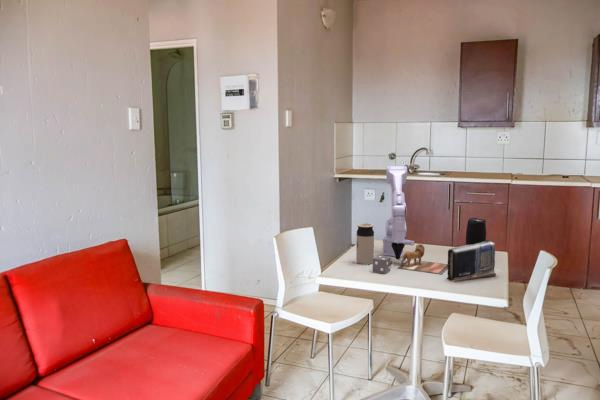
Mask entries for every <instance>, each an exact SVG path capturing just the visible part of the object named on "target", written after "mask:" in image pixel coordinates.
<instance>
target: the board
mask: <svg viewBox="0 0 600 400" xmlns="http://www.w3.org/2000/svg"><path fill="white" fill-rule="evenodd" d="M421 264H422V265H419V259H418V260H417V259H416V264H414V259H411V261H410V265H412V267H410V266H409V265H408V260H405V261H404V262H403V265H404V266H403V267H402V266H401V264H400V265H399V266H398V267H397V269H399V270H407V271H413V272H421V273H429V274H435V275H443V274H444V273H445V272H446V271H448V263H441V262H440V263H439V262H432V261H426V260H421Z"/></svg>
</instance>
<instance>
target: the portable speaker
mask: <svg viewBox="0 0 600 400" xmlns="http://www.w3.org/2000/svg"><path fill="white" fill-rule="evenodd" d="M486 222H487V221H486V219H485V218H477V217H469V218H468V220H467V224H466V229H465V231H466V232H465V245H470V244H476V243H480V242H484V241H486V240H487V225H486V224H487V223H486Z"/></svg>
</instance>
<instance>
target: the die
mask: <svg viewBox="0 0 600 400" xmlns="http://www.w3.org/2000/svg"><path fill="white" fill-rule="evenodd" d="M391 257H392V256H386V255H376V256H375V257H374V258H373V263H372V273H377V274H384V275H387V273H389V272H390V271H391V265H392V264H391V262H392V261H391V260H392V259H391Z"/></svg>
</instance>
